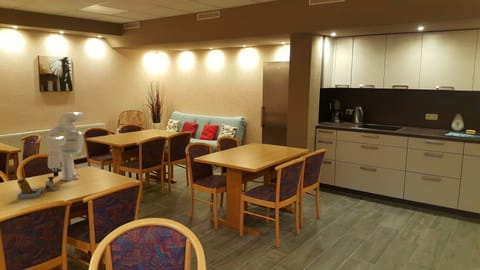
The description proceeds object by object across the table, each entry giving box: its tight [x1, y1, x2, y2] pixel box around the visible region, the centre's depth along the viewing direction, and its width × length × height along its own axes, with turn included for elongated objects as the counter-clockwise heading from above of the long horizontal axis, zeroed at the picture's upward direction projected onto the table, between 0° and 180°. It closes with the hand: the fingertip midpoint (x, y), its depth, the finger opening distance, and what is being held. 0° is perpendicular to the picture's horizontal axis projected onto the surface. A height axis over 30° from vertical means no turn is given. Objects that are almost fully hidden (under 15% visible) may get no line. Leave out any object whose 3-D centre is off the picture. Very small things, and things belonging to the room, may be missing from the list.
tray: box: [17, 188, 43, 200], centre depth 257 cm, size 13×12×3 cm
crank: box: [45, 176, 56, 188], centre depth 274 cm, size 13×5×6 cm, turn 16°
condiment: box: [17, 177, 37, 194], centre depth 255 cm, size 7×8×12 cm
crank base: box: [39, 186, 59, 193], centre depth 268 cm, size 20×6×3 cm, turn 106°
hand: (56, 176), depth 275 cm, fingers closed
